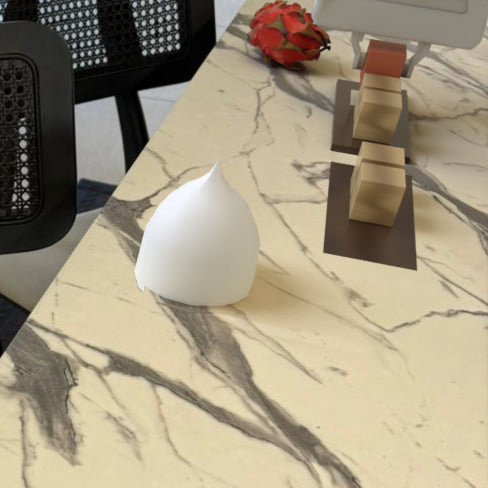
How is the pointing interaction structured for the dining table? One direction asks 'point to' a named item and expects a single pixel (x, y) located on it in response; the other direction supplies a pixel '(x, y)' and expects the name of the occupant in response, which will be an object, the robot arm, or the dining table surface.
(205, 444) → the dining table surface
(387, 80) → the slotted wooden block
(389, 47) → the rust red cube
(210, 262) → the teardrop
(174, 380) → the dining table surface
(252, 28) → the dragon fruit
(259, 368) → the dining table surface
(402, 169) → the grooved block on base
